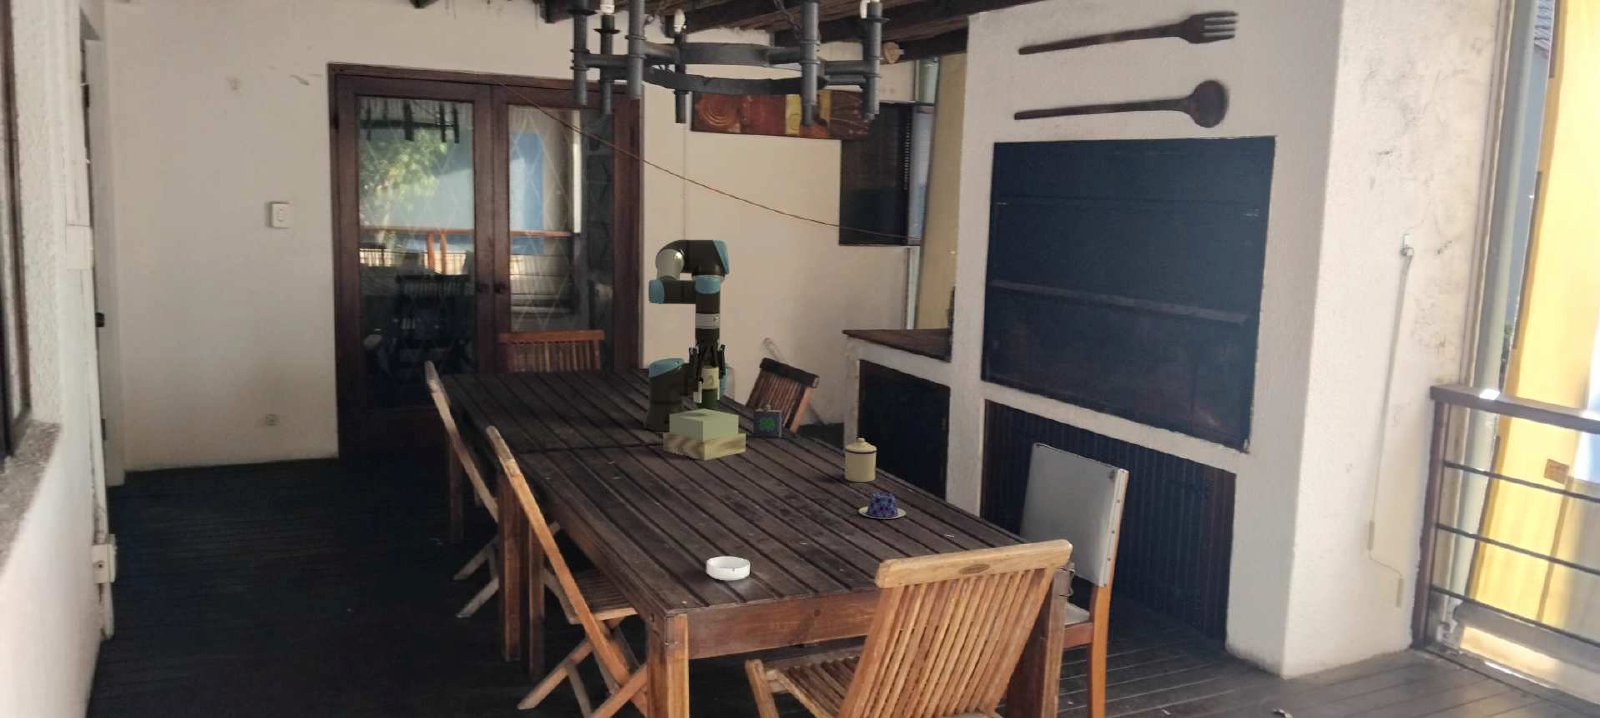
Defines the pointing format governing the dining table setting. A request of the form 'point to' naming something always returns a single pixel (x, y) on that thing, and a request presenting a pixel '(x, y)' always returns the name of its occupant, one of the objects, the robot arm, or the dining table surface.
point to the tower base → (704, 446)
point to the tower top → (703, 424)
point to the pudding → (882, 507)
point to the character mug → (708, 387)
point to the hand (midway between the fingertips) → (706, 400)
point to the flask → (767, 423)
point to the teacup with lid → (860, 461)
